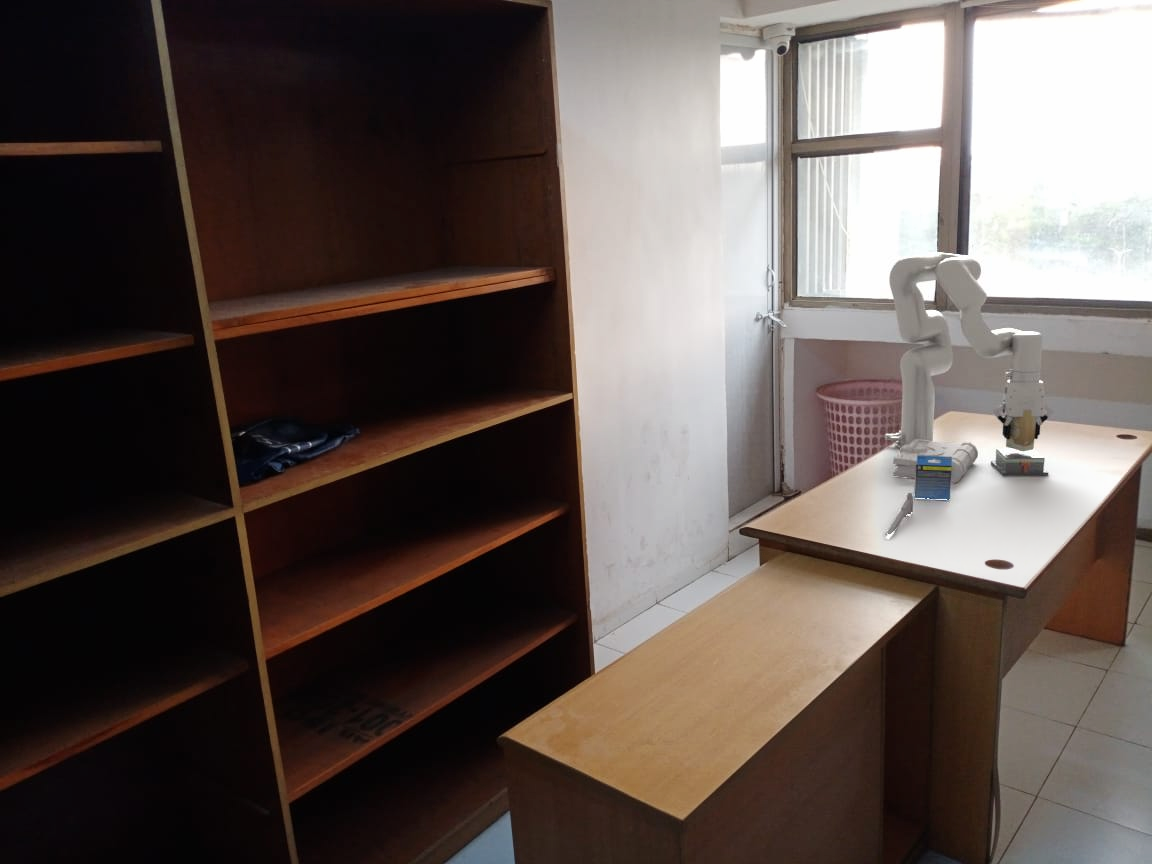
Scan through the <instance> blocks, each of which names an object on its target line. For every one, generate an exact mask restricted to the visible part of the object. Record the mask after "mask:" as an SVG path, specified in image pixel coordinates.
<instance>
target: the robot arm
mask: <svg viewBox="0 0 1152 864" xmlns="http://www.w3.org/2000/svg"><path fill="white" fill-rule="evenodd" d="M981 268H982V267H981V264H980V263H979V261H978V260H977V259H976V258H975V257H972V256H971V255H965V254H963V255H962V254H954V253H947V252H946V253H945V252H941V251H940V252H938V251H937V252H926V253H917V254H910V255H908V256H904V257H902V258H900V259H898V261H897V262H895V263H894V265H893V266H892V268H891V270H890V272H889V279H888V280H889V286H890V292H891V294H892V297H893V302H894V308H895V314H896V315H895V316H896V318H897V319H896V321H897V325H898V330H899V331H898V332H899V336H900V338H901V339H902V341H903V342H905V343H907V344H919V343H920V344H921V343H922V344H923V346H919V347H914V348H911V349H909V350H907V351H906V352H905V353H904V354H903V355H902V356H901V359H900V362H899V366H900V368H899V369H900V374H901V380H902V381H901V382H902V385H901V386H902V388H901V389H902V390H901V392H902V394H901V396H902V397H901V399H902V400H901V424H900V425H901V428H900V430H898V432H895V433H885V435H884V436H885V437H884V438H885V440H886V441H889V440H890V441H891V442H895V446H896V447H897V448H899V449H900V450H901V448H902V447H903V446H904V445H905V444H907V445H909V444H910V443H911V442H912V441H913V440H914V439H921V440H929V441H932V442H937V441H936V440H934V421H935V420H934V418H935V401H936V399H935V397H936V396H935V395H936V390H935V386H934V382H933V381H932V377H933V376H938V375H941V374H944V373H946V372H948V371H949V370H950V369H951V367H952V365H953V360H954V357H953V347H952V341H951V336H950V330H949V326H948V322H947V320H946V318H945V316H944V315H943V314H942V313H941V312H939V311H938V310H935V309H927V310H926V306H925V300H924V295H923V294H922V292H921V290H920V289H919V288H918V286H917V284H918V283H922V282H923V283H924V282H931V281H937V283H938V284H939V285H940V286H941V289H943V290H944V292H945V293H946V295H947V296H948V297H949V298H950V300H951V301H952V303H953V304H954V306H955V307H956V309H957V310H958V311H959V315H960V317H959V320H960V327H961V331H962V334H963V336H964V338H965V339H966V340H967V342H968V343H969V345H970V346H971V347H972V348H973V350H974V351H975V352H976V353H977V354H978V355H979V356H981V357H983V358H986V359H994V358H998V357H1003V356H1009V355H1011V360H1010V370H1009V371H1008V372H1005V373H1004V378H1009V379H1008V380H1007V381H1006V385H1005V387H1004V389H1005V390H1004V392H1003V393H1004V394H1003V398H1002V403H1000V404H999V405H998V406H997V407H995V408H994V409H993V410H991V412H992V414H993V415H994V416H995V417H996V418H997V420H999V422H1001V424H1002V436H1004V437H1003V438H1004V439H1005V440H1006V439H1010V429H1011V426H1010V425H1009V423H1010V421H1011V420H1012V418H1020V417H1023V411H1024V410H1027V409H1030V410H1032V414H1031V417H1037V419H1036V429H1035V439H1034V440H1037V439H1039V436H1040V435H1041V426H1042V425H1043V423H1045V421H1046V420H1048V418H1049V417H1050V416H1051V415H1052V414H1054V410H1053V409H1052V408H1051V407H1049V406H1048V405H1047V404H1046V403H1045V402H1046V401H1045V388H1044V387H1045V386H1044V382H1043V381H1042V380H1041V369H1042V366H1041V365H1042V355H1043V354H1042V352H1043V340H1044V338H1043V335H1042V334H1041V333H1040V332H1037V331H1022V330H1019V329H1015V328H1011V327H1006V328H1000V329H993V330H991V328H990V327H989V326H988V324H987V323H986V321H985V320H984V318H983V316H982V309H981V308H982V306H983V305H984V304H985V303H986V301H987V298H988V296H987V293H986V291H985V290H984V289H983V288H982V286H981V285H980V284H979V282H978V280H979V278H980V277H981V273H982V269H981ZM1001 412H1002V413H1003V414H1004V416H1002V415H1001ZM896 444H897V445H896Z"/></svg>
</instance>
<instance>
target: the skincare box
mask: <svg viewBox="0 0 1152 864" xmlns="http://www.w3.org/2000/svg"><path fill="white" fill-rule="evenodd" d="M1031 414H1032V410H1030V409H1027V410H1024V411H1023V417H1020V418H1012V420H1011V421H1010V423H1009V425H1010V426H1011V429H1010V439H1006V438H1005V441H1006V442H1005V447H1006V448H1012V449H1016V450H1019V451H1023V452H1024V451H1028V450H1033V449H1035V440H1036V439H1035V429H1036V419H1037V417H1031Z"/></svg>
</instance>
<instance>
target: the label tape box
mask: <svg viewBox="0 0 1152 864" xmlns="http://www.w3.org/2000/svg"><path fill="white" fill-rule="evenodd" d="M933 459H935V460H937V461H940V463H932V462H928V460H933ZM951 464H952V457H946V456H924V455H917V464H916V466H915V478H914V491H913V494H915V496H914V499H915V498H925V499H927V498H929V499H947V500H949V499H950V500H951V489H952V488H951V487H952V483H951V474H952V466H951Z"/></svg>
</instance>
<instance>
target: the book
mask: <svg viewBox="0 0 1152 864" xmlns="http://www.w3.org/2000/svg"><path fill="white" fill-rule="evenodd" d="M917 455H924V456H946V457H952V464H951V466H952V474H951V484H957V483H958V482H959V481H960V479H962V477H963V476H964V475H965V473H966V471H967V470H969V468H970V467H971V466H972V465H973V463H975V461H976V460H977V459H978V457H979V456H978V455H979V450H978V449H977V446H976V445H975V444H973V443H972V442H970V441H969V442H968V441H967V442H962V443H961V442H960V443H954V442H953V443H952V442H943V441H941V442H939V441H936V442H932V441H929V440H921V439H914V440H913V441H912V442H911V443H910V444H909V445H907V444H905V445H904V446H903V447H902V448H901V449H900V453H899V454H897V455H895V456H894V457H893V459H892V460H893V462H892V464H895V465H894V467H896V468H895V469H894V470H893V474H892V476H899V477H898V478H900V477H907V478H906V479H909V478H910V479H915V466H916V464H917ZM928 462H932V463H940V461H937V460H935V459H933V460H928Z"/></svg>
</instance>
